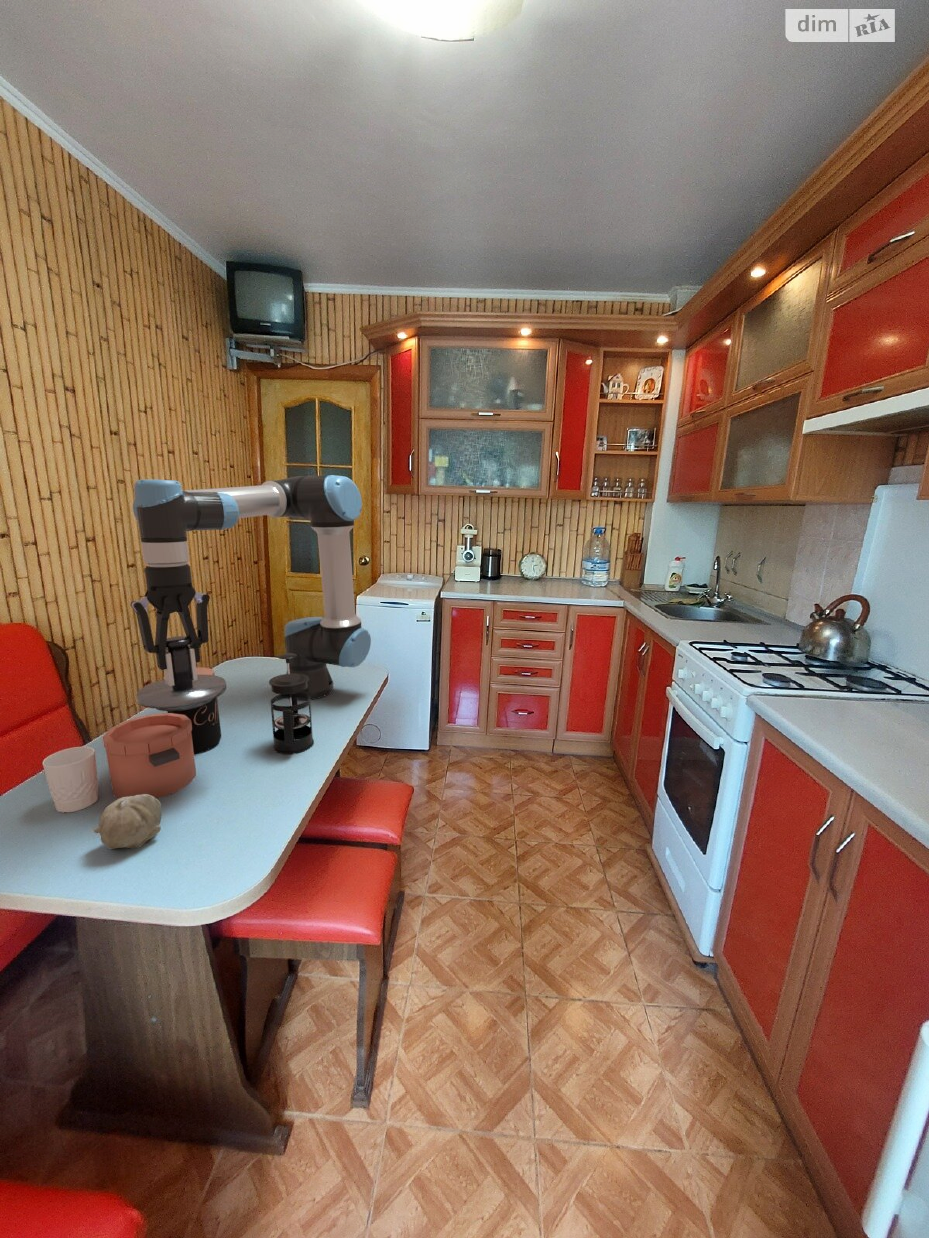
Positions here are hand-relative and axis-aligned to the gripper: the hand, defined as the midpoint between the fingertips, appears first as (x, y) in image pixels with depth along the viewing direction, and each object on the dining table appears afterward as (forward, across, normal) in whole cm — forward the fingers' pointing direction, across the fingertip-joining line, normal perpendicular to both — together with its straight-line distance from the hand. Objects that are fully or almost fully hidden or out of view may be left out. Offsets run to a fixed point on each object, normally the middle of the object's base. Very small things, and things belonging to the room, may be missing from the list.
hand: (181, 681), depth 100 cm
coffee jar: (+23, -7, -17) cm, 29 cm away
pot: (+23, +5, -7) cm, 24 cm away
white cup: (+23, +18, -9) cm, 30 cm away
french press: (+23, -23, 0) cm, 32 cm away
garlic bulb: (+23, +15, +12) cm, 30 cm away
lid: (+4, 0, 0) cm, 4 cm away
